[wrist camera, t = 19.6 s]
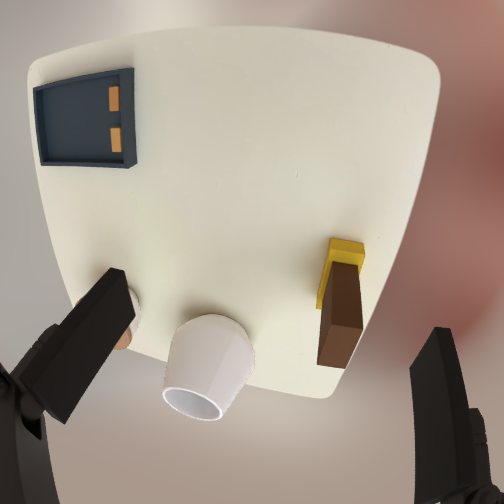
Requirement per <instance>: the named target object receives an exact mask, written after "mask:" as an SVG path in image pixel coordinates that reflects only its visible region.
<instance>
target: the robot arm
mask: <svg viewBox="0 0 504 504" xmlns="http://www.w3.org/2000/svg"><path fill="white" fill-rule="evenodd" d="M135 316H136V314H135V310H134V307H133V303H132V299H131V296H130V292H129V288H128V284H127V280H126V276H125V272H124V271H123V270H119V269H115V268H110V269H109V270H108V271H107V272H106V273H105V274H104V275H103V276H102V277H101V278H100V279H99V280H98V282H97V283H96V284H95V285H94V286H93V287H92V288H91V289H90V290H89V291H88V293H87V294H86V295H85V296H84V297H83V298H82V299H81V300H80V302H79V303H78V304H77V305H76V306H75V307H74V308H73V310H72V311H71V312H70V313H69V314H68V315H67V317H66V318H65V319H64V320H63V321H62V323H61V324H60V325H57V324H54V325H52V326H50V327H49V328H47V329H46V330H45V331H44V332H43V333H42V334H41V336H40V337H39V338H38V341H36V342H35V343H34V344H33V345H32V348H30V349H29V350H28V352H27V353H26V354H25V356H24V357H23V358H22V359H21V361H20V362H19V363H18V365H17V366H16V367H15V368H14V370H13V371H12V372H11V373H10V374H9V373H8V372H7V371H6V370H5V368H4V367H3V366H2V364H1V363H0V504H60V503H59V499H58V495H57V491H56V486H55V482H54V477H53V472H52V467H51V461H50V455H49V449H48V442H47V434H46V426H45V418H44V414H43V411H44V410H46V411H47V412H48V413H49V414H50V415H51V416H52V417H53V418H55V419H56V420H58V421H60V422H61V423H63V424H65V423H66V422H67V420H68V418H69V417H70V415H71V413H72V412H73V410H74V409H75V407H76V405H77V404H78V402H79V400H80V399H81V397H82V396H83V394H84V393H85V391H86V389H87V388H88V386H89V385H90V383H91V382H92V380H93V378H94V377H95V375H96V374H97V372H98V371H99V369H100V368H101V366H102V365H103V363H104V362H105V360H106V359H107V357H108V356H109V354H110V353H111V351H112V350H113V348H114V347H115V345H116V344H117V342H118V341H119V340H120V338H121V337H122V335H123V334H124V332H125V331H126V329H127V328H128V326H129V325H130V324H131V322H132V321H133V319H134V318H135ZM409 369H410V378H411V387H412V399H413V411H414V426H415V427H414V429H415V498H414V504H435V503H438V502H440V504H504V493H502V492H500V490H499V489H498V487H497V486H495V485H493V484H492V482H491V476H490V463H489V453H488V445H487V444H486V442H487V438H486V434H485V432H486V431H485V425H484V419H483V417H482V415H481V413H480V412H479V410H478V408H469V406H468V401H467V395H466V390H465V385H464V381H463V376H462V372H461V368H460V363H459V359H458V355H457V351H456V348H455V344H454V340H453V337H452V333H451V330H450V328H441V327H434V329H433V331H432V333H431V334H430V336H429V338H428V339H427V341H426V343H425V344H424V346H423V348H422V349H421V351H420V352H419V354H418V356H417V357H416V359H415V360H414V362H413V364H412V365H411V366H410V368H409Z"/></svg>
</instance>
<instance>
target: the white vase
mask: <svg viewBox="0 0 504 504" xmlns="http://www.w3.org/2000/svg"><path fill="white" fill-rule="evenodd" d="M254 368H255V351H254V349H253V346H252V344H251V342H250V340H249V337H248V335H247V333H246V332H245V330H244V328H243V327H242V326H241V325H239V324H238V323H237V322H236V321H234V320H232V319H230V318H228V317H226V316H223V315H217V314H208V315H202V316H200V317H197V318H195V319H192V320H190V321H187V322H186V323H184V324H183V325H181V326H180V327H178V328H177V329H176V330H175V333H174V336H173V339H172V342H171V346H170V352H169V357H168V362H167V367H166V373H165V378H164V385H163V390H162V396H163V398H164V400H165V401H166V402H167V403H168V404H169V405H170V406H171V407H172V408H174V409H175V410H177V411H179V412H180V413H182V414H184V415H187V416H189V417H192V418H195V419H199V420H207V421H213V420H218V419H220V418H221V417H222V416H223V414H224V413H225V411H226V410H227V409H228V407H229V406H230V404H231V403H232V401H233V400H234V398H235V397H236V395H237V394H238V392H239V391H240V389H241V388H242V386H243V385H244V383H245V382H246V380H247V379H248V377H249V376H250V374H251V373H252V371H253V370H254Z"/></svg>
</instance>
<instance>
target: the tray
mask: <svg viewBox="0 0 504 504" xmlns="http://www.w3.org/2000/svg"><path fill="white" fill-rule="evenodd" d="M114 86H120V107H121V110H120V111H110V108H109V87H114ZM33 100H34V114H35V125H36V134H37V142H38V149H39V156H40V163H41V166H84V167H108V168H126V169H128V168H130V167H132V166H134V165H135V164H137V155H136V139H135V116H134V68H125V69H118V70H111V71H105V72H99V73H94V74H88V75H83V76H78V77H74V78H69V79H65V80H61V81H57V82H53V83H49V84H45V85H41V86H38V87H34V88H33ZM116 126H121V130H122V145H123V151H122V152H112V143H111V128H113V127H116Z"/></svg>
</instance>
